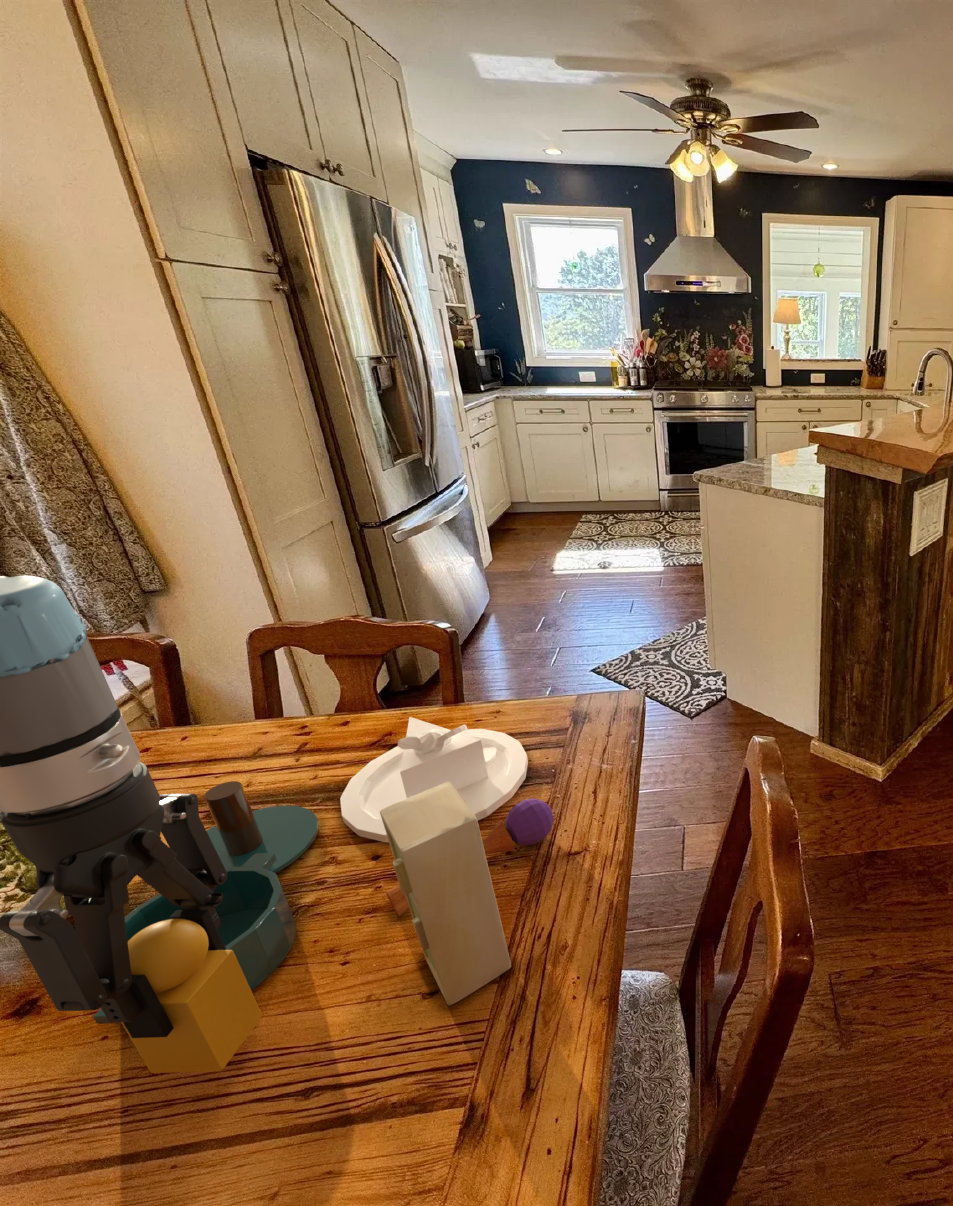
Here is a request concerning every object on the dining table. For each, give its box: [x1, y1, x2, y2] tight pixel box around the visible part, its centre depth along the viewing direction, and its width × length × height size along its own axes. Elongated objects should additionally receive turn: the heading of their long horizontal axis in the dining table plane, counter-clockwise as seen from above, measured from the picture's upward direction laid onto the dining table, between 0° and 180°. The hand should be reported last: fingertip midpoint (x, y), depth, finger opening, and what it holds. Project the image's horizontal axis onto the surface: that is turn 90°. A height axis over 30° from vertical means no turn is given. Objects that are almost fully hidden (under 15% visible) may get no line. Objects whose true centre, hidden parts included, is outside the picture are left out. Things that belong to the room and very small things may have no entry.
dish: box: [339, 716, 529, 843], centre depth 95 cm, size 25×25×11 cm
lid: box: [175, 780, 320, 874], centre depth 82 cm, size 15×15×10 cm
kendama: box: [385, 798, 555, 917], centre depth 82 cm, size 6×6×20 cm
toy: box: [120, 919, 263, 1074], centre depth 56 cm, size 6×6×14 cm
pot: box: [92, 853, 297, 1025], centre depth 68 cm, size 14×20×6 cm
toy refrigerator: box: [380, 782, 512, 1006], centre depth 66 cm, size 8×7×21 cm
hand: (184, 996), depth 56 cm, fingers closed on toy, 5 cm apart
